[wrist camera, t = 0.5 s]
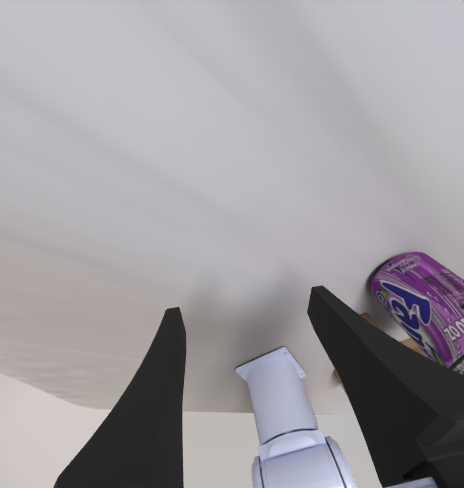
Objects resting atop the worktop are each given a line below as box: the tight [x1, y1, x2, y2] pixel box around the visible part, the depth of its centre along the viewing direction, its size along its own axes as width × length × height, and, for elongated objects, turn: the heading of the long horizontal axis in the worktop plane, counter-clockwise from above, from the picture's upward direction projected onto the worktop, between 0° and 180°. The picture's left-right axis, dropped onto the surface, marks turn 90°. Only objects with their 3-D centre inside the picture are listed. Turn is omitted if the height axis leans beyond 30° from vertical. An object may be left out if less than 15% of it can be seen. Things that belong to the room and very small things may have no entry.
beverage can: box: [370, 252, 464, 375], centre depth 22 cm, size 7×7×12 cm
